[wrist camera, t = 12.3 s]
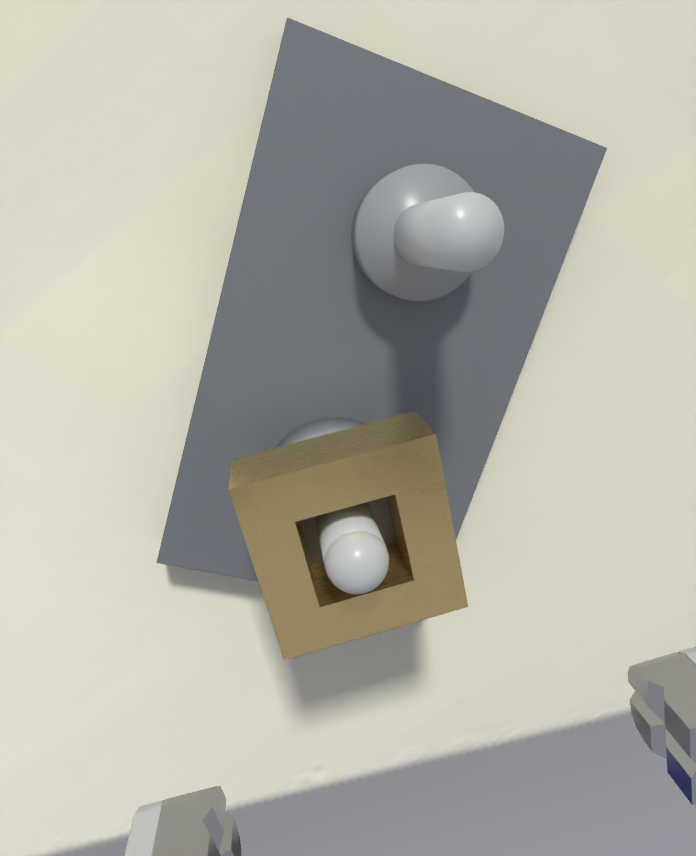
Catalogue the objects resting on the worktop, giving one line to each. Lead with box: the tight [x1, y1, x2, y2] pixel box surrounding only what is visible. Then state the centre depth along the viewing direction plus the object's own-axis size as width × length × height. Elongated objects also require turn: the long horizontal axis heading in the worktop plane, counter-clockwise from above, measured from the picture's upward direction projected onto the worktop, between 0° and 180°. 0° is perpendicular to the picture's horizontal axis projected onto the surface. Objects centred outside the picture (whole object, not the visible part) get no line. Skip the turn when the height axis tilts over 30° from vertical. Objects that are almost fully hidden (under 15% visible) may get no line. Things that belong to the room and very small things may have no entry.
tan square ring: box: [228, 411, 468, 660], centre depth 19 cm, size 6×6×2 cm
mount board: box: [157, 18, 607, 594], centre depth 20 cm, size 12×20×8 cm, turn 163°
